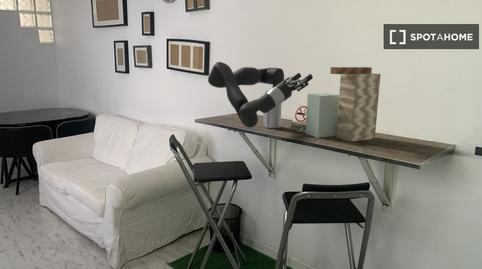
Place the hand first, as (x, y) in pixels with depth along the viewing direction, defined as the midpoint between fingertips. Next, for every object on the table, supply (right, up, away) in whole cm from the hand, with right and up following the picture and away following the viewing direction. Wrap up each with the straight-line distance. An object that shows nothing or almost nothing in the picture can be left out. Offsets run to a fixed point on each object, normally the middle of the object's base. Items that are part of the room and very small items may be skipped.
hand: (305, 75), depth 167 cm
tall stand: (+29, -28, +22) cm, 46 cm away
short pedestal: (+13, -26, +28) cm, 41 cm away
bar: (+24, +3, +13) cm, 27 cm away
